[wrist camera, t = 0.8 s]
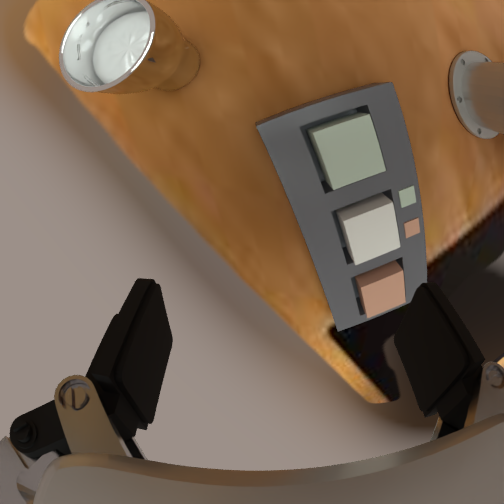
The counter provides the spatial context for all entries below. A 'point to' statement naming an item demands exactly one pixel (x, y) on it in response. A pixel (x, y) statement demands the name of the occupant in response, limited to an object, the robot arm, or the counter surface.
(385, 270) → the terracotta key
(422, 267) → the keyguard board
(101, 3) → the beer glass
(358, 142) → the sage key
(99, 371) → the robot arm
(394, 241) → the white key
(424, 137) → the counter surface
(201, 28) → the counter surface
